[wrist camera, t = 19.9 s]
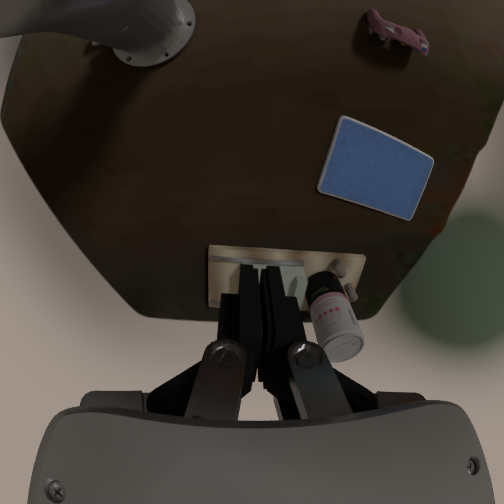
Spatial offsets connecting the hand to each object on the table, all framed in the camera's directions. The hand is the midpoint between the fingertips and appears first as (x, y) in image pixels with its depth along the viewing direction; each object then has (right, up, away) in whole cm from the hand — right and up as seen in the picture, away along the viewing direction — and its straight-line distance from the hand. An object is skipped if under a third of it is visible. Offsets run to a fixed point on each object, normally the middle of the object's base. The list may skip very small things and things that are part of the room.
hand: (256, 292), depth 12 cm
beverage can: (+12, -4, +35) cm, 38 cm away
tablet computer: (+20, +15, +27) cm, 37 cm away
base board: (+6, -3, +36) cm, 37 cm away
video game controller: (+21, +35, +14) cm, 43 cm away
